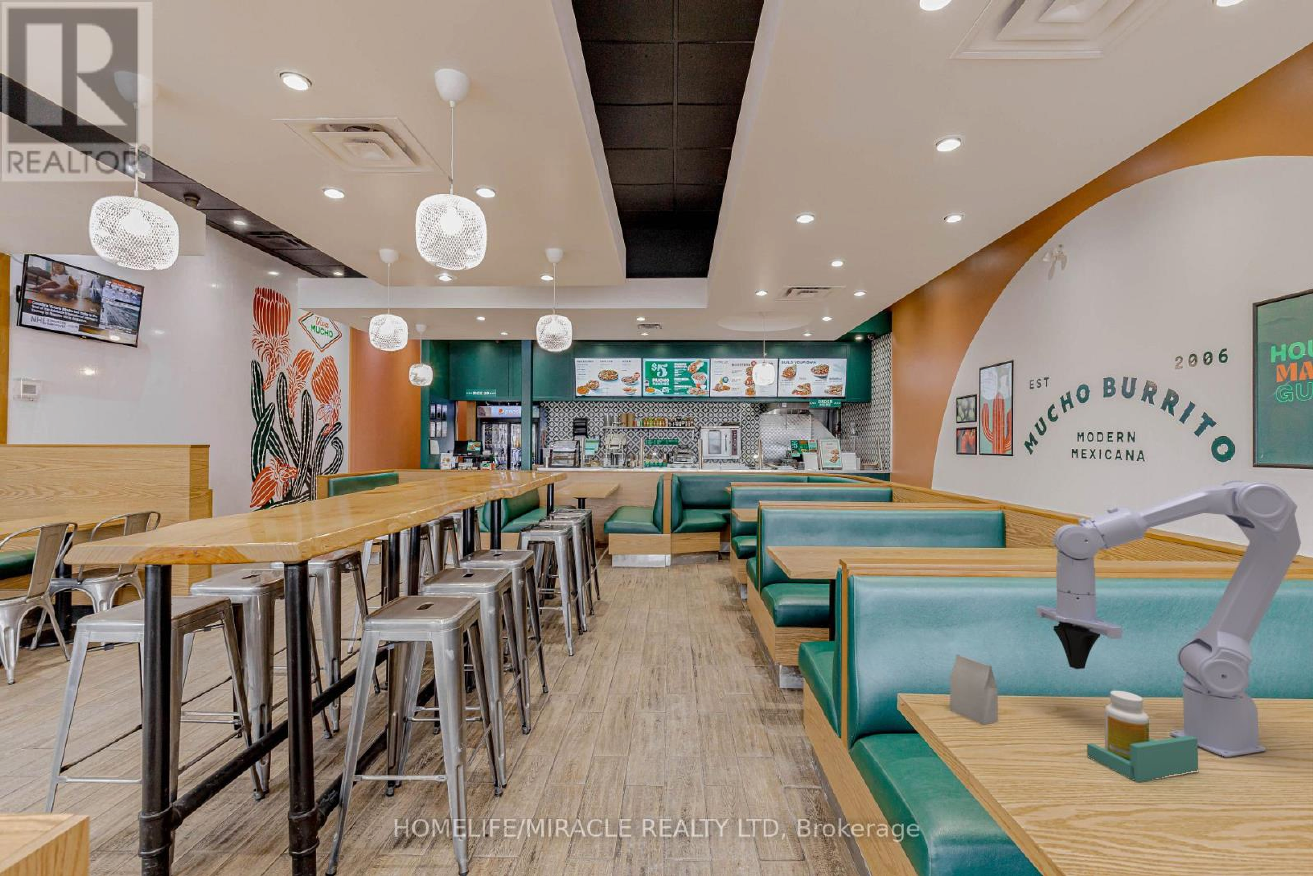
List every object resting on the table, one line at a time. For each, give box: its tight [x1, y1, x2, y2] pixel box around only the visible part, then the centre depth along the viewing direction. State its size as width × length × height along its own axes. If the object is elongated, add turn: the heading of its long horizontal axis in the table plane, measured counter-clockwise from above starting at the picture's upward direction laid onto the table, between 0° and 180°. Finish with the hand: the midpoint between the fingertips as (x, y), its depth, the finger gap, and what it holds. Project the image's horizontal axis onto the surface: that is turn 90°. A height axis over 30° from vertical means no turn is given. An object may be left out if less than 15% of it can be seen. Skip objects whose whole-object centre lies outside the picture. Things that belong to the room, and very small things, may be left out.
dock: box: [1086, 736, 1199, 783], centre depth 89 cm, size 12×8×5 cm, turn 105°
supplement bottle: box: [1104, 690, 1150, 761], centre depth 90 cm, size 5×5×10 cm
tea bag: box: [949, 654, 999, 726], centre depth 105 cm, size 4×7×10 cm, turn 25°
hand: (1077, 667), depth 104 cm, fingers closed
